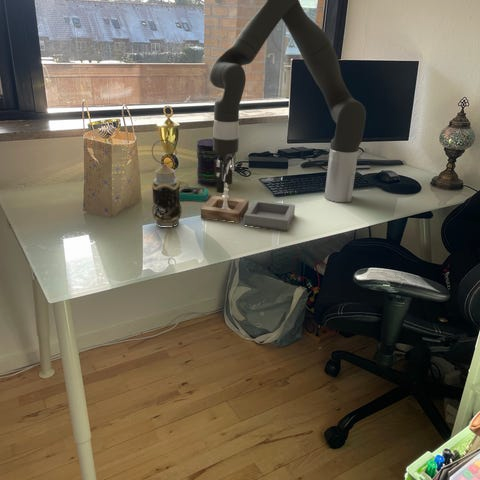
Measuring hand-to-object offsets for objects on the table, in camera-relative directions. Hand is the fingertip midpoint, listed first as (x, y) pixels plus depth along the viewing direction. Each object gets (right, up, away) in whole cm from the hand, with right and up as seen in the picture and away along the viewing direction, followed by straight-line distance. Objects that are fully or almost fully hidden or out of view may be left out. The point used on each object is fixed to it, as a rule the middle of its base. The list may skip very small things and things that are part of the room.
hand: (224, 188), depth 141 cm
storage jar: (-6, +6, +30) cm, 31 cm away
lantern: (-17, -11, -5) cm, 21 cm away
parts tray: (+14, -10, -1) cm, 17 cm away
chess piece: (0, -8, +3) cm, 9 cm away
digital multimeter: (-14, -2, +16) cm, 21 cm away
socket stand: (0, -7, +3) cm, 8 cm away
